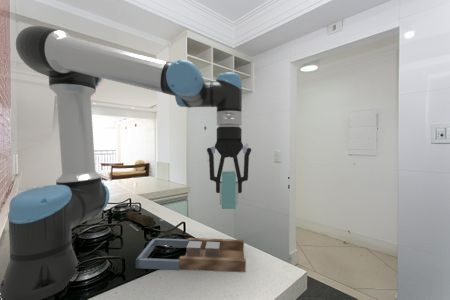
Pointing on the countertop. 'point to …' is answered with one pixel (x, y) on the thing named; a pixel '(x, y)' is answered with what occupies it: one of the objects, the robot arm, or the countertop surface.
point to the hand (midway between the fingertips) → (228, 203)
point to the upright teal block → (228, 190)
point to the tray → (160, 263)
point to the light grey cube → (212, 249)
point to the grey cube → (194, 249)
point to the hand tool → (140, 219)
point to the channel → (227, 260)
